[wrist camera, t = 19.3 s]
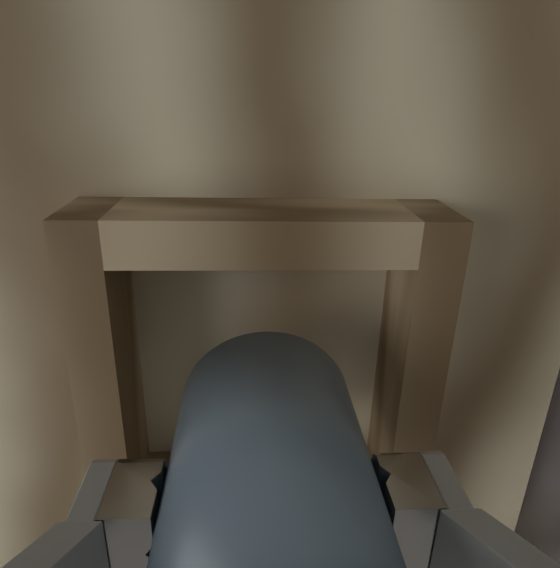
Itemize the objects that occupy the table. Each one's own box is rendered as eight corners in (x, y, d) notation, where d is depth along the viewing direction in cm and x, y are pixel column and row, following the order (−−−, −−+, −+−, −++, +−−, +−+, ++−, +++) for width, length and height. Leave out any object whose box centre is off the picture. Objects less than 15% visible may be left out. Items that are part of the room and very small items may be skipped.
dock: (11, 581, 20) (-34, 679, 17) (-163, -70, 11) (-325, -131, 8) (488, 560, 21) (532, 646, 18) (643, -36, 13) (777, -77, 10)
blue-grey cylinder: (187, 471, 14) (137, 782, 8) (178, 332, 12) (104, 586, 6) (342, 467, 14) (415, 762, 8) (353, 330, 12) (458, 570, 6)
